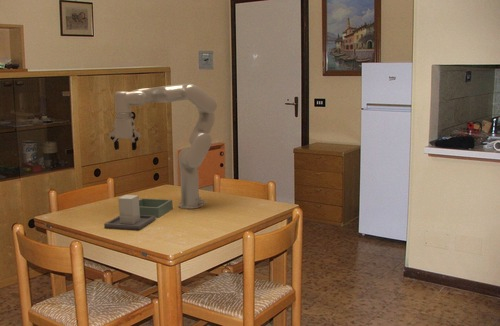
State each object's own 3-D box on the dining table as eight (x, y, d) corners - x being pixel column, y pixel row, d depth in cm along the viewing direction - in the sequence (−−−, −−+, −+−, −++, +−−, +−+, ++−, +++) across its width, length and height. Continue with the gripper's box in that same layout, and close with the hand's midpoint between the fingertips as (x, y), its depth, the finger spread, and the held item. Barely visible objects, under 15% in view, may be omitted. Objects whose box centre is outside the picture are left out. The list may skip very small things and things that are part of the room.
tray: (155, 220, 283) (155, 215, 283) (139, 230, 266) (139, 226, 265) (122, 218, 288) (122, 213, 287) (104, 228, 271) (104, 223, 270)
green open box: (172, 209, 304) (172, 199, 303) (158, 217, 287) (158, 208, 286) (142, 207, 308) (142, 198, 307) (127, 215, 292) (126, 206, 291)
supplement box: (140, 220, 279) (139, 195, 277) (133, 224, 272) (131, 198, 270) (127, 219, 281) (125, 194, 279) (119, 223, 274) (117, 197, 272)
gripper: (142, 115, 289) (144, 149, 292) (111, 115, 293) (113, 148, 296) (135, 116, 282) (137, 151, 285) (104, 116, 286) (106, 150, 289)
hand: (125, 149), depth 291 cm, fingers open, 9 cm apart
